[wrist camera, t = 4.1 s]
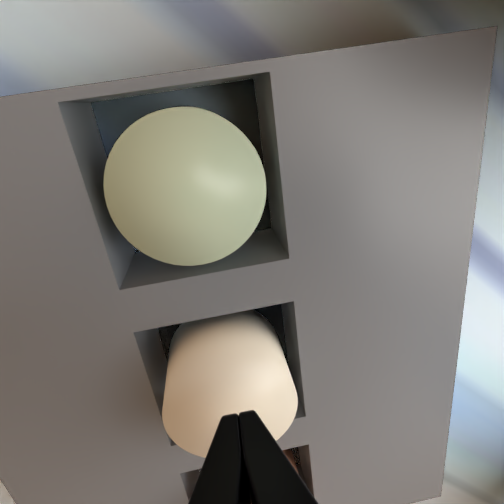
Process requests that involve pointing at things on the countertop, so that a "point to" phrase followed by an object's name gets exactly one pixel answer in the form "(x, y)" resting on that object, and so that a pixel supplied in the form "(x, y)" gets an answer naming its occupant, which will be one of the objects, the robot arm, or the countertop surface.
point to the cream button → (225, 378)
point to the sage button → (184, 186)
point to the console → (250, 276)
